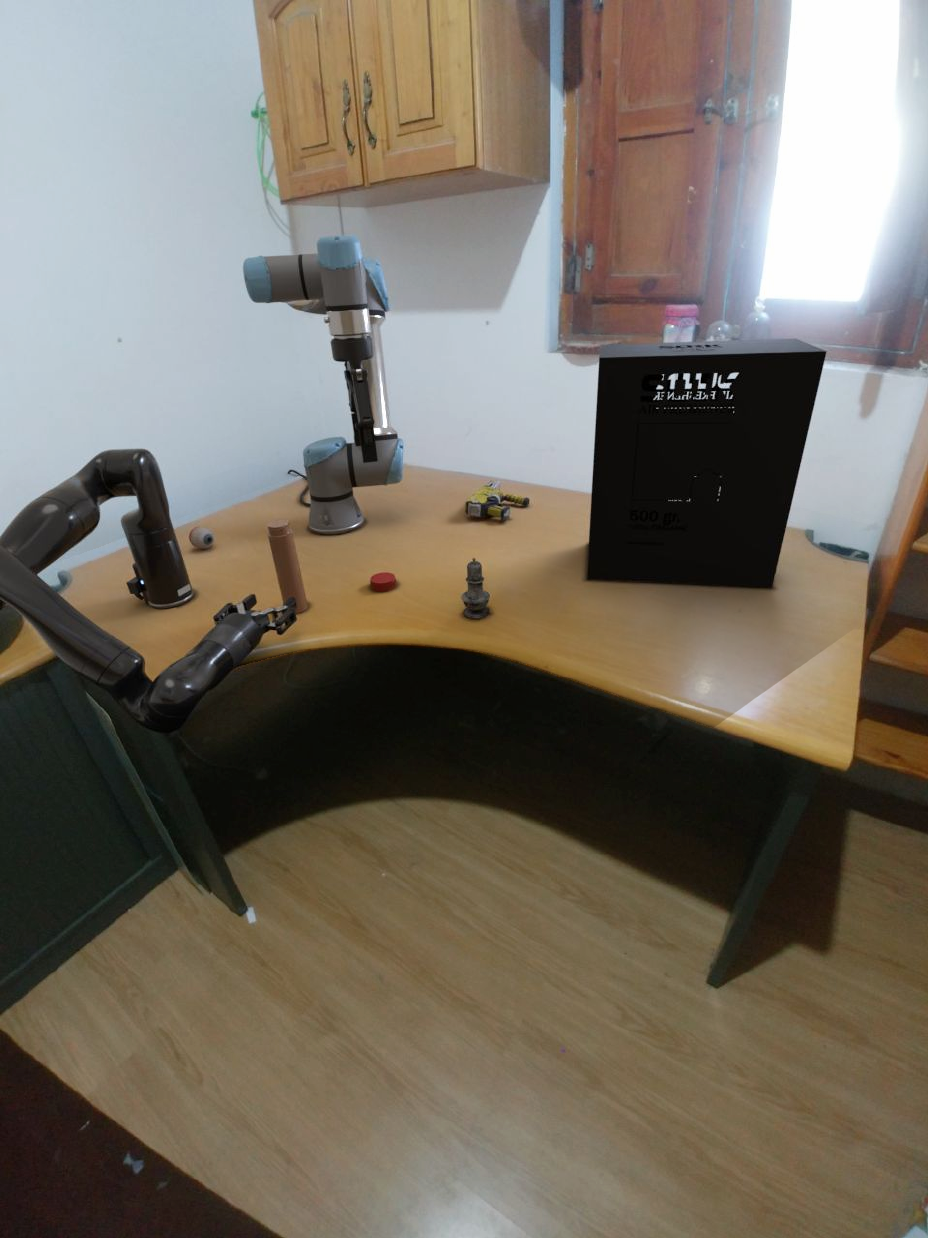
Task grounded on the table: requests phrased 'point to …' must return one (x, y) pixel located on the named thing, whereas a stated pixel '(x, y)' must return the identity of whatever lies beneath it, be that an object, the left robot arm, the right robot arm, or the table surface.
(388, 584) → the lid
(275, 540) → the jar
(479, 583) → the dark grey tiered figure
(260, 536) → the table surface
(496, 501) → the toy gun
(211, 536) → the eyeball
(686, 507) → the cardboard box
